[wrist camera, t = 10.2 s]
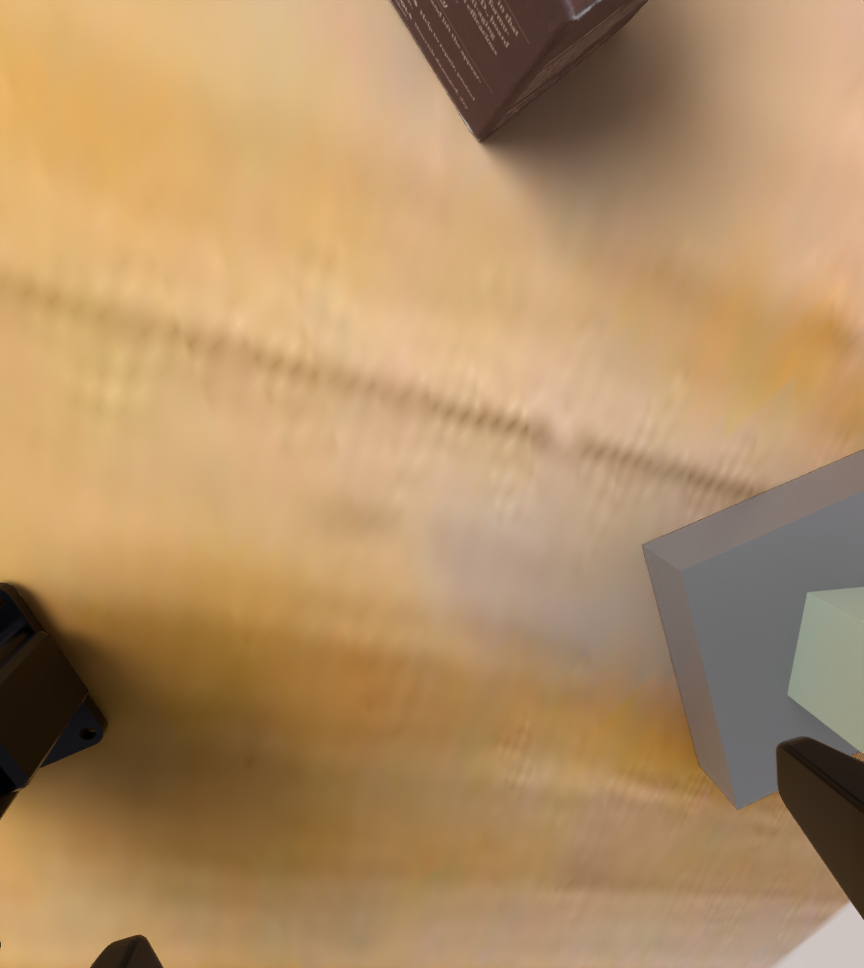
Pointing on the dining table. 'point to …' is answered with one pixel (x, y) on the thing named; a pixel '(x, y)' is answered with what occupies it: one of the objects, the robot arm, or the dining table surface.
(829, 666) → the sage block
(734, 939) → the dining table surface
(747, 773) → the slate slab
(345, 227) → the dining table surface
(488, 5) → the box
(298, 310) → the dining table surface
